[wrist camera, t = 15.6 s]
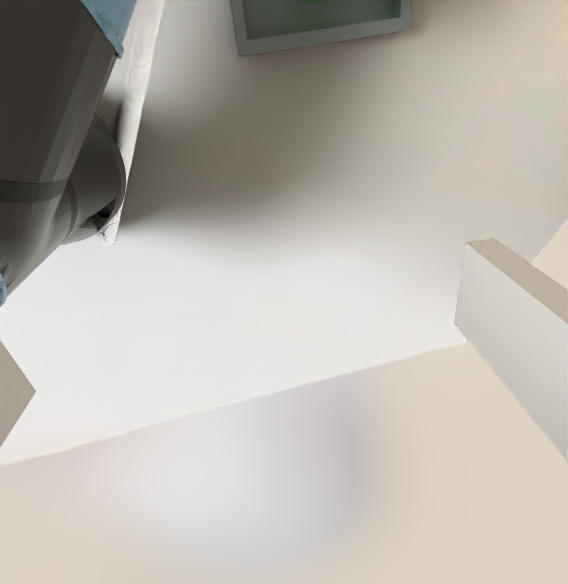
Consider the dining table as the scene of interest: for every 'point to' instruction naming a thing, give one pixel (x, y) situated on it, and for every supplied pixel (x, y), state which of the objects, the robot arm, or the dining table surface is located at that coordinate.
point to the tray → (313, 21)
